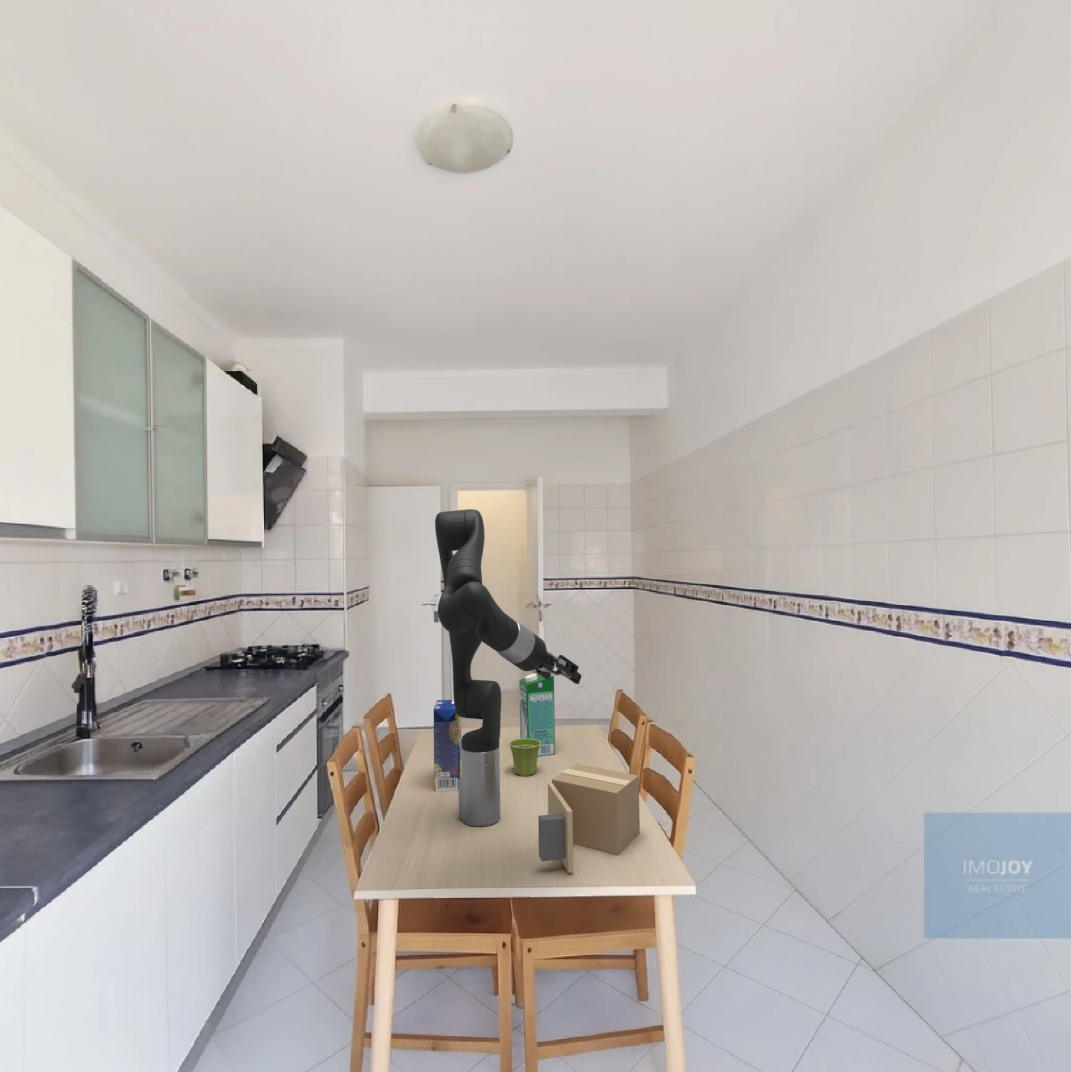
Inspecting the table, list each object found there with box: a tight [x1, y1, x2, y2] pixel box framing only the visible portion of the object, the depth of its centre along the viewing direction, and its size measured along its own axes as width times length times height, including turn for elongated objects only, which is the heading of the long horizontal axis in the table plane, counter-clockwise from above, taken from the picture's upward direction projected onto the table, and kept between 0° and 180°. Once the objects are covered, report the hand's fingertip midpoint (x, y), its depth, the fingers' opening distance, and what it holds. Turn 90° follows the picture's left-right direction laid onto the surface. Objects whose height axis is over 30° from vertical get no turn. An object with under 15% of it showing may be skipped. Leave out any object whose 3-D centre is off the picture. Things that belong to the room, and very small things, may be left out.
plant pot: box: [508, 738, 541, 777], centre depth 182 cm, size 9×9×9 cm
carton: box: [551, 763, 641, 856], centre depth 141 cm, size 16×12×13 cm
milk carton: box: [518, 673, 556, 757], centre depth 201 cm, size 9×9×25 cm
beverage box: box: [433, 699, 462, 792], centre depth 174 cm, size 7×11×22 cm, turn 4°
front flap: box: [537, 782, 574, 873], centre depth 131 cm, size 16×6×12 cm, turn 13°
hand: (563, 677), depth 136 cm, fingers open, 8 cm apart
